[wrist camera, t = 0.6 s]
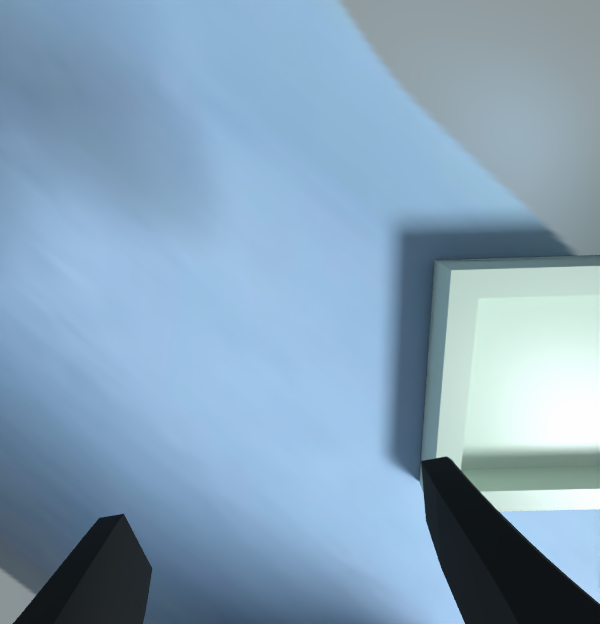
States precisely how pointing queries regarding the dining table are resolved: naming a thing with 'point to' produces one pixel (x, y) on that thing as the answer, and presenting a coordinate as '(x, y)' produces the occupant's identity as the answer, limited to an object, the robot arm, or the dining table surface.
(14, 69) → the dining table surface
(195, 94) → the dining table surface
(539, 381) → the sage tray
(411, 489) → the dining table surface
